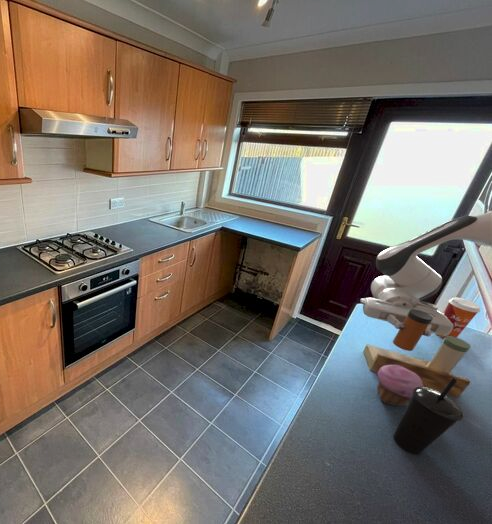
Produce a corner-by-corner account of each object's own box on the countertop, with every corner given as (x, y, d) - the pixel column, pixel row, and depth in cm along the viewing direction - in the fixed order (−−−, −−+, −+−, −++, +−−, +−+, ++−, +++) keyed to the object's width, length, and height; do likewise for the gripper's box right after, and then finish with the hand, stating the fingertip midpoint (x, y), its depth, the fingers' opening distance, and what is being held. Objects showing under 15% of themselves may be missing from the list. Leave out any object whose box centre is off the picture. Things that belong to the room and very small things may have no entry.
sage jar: (443, 368, 81) (464, 339, 76) (451, 380, 77) (474, 350, 72) (422, 362, 83) (442, 333, 78) (429, 374, 79) (450, 344, 74)
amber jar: (410, 343, 82) (428, 312, 78) (416, 353, 78) (436, 321, 74) (390, 337, 84) (407, 307, 79) (395, 347, 80) (413, 316, 75)
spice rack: (442, 374, 83) (453, 359, 81) (458, 397, 76) (470, 382, 73) (363, 351, 90) (370, 336, 88) (370, 370, 83) (378, 355, 80)
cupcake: (365, 380, 79) (380, 353, 75) (403, 393, 76) (421, 366, 72) (372, 405, 72) (390, 377, 68) (415, 420, 69) (436, 391, 64)
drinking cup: (387, 420, 68) (429, 359, 59) (429, 444, 63) (481, 381, 55) (382, 442, 63) (427, 378, 54) (428, 469, 58) (485, 404, 50)
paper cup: (440, 340, 98) (463, 307, 92) (424, 326, 105) (444, 295, 99) (466, 343, 97) (490, 310, 91) (448, 329, 104) (469, 298, 98)
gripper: (362, 289, 92) (373, 310, 80) (443, 306, 84) (468, 333, 73) (355, 305, 94) (365, 328, 83) (432, 323, 87) (455, 351, 76)
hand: (413, 330), depth 78 cm, fingers closed on amber jar, 4 cm apart
